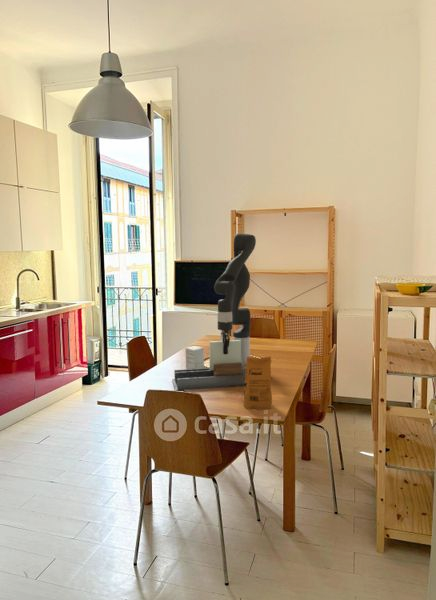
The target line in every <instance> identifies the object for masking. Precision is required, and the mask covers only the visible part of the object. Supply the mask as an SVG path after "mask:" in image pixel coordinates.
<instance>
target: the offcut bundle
mask: <svg viewBox="0 0 436 600" xmlns="http://www.w3.org/2000/svg"><path fill="white" fill-rule="evenodd" d="M213 373H214V376H228V375H243V368H242V363H241V362H237V363H220V364H213Z"/></svg>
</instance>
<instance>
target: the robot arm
mask: <svg viewBox="0 0 436 600" xmlns="http://www.w3.org/2000/svg"><path fill="white" fill-rule="evenodd" d="M256 239H257V238H256V236H255V235H254V234H247V233H241V232H240V233H235V235H234V238H233V259H231V260H230V261H229V263H228V264H227V265H226V268H225V270H224V272H223V273H222V274H221V275H220V277H218V278H217V280H216V281H215V284H214V286H213V289H214V292H215V293H216V295H221V296H225V298H224V299H219V300H218V302H217V330H219V331H221V332H220V341H222V342H223V354H228V347H229V341H230V339H231V337H230V333H229V331H231V330H233V326H240V325H241V326H240V327H239V328H238V329H236V330H234V331H232V336H233V337H232V340H241V363H242V366H244V367H246V365H247V364H246V363H247V357H251V356H250V353H251V351H250V348H251V347H250V346H251V345H250V342H251V341H250V333H251V311H250V309H249V308H247V307H243V308H239V306H240V303H241V301H242V299H243V298H244V296H245V295H246V293H247V292H248V290H249V288H250V281H251V280H250V279H251V275H250V271H249V269H248V267H247V265H246V262H247V260H248V259H249V257H250V256H251V255H252V253H253V251H254V250H255V247H256V245H257V244H256V242H257V241H256Z"/></svg>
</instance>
